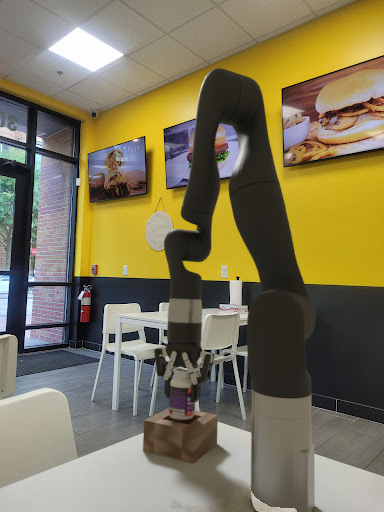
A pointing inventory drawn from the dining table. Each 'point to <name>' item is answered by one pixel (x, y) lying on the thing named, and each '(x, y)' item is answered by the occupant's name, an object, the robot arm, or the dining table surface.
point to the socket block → (180, 435)
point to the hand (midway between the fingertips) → (181, 399)
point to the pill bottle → (181, 396)
